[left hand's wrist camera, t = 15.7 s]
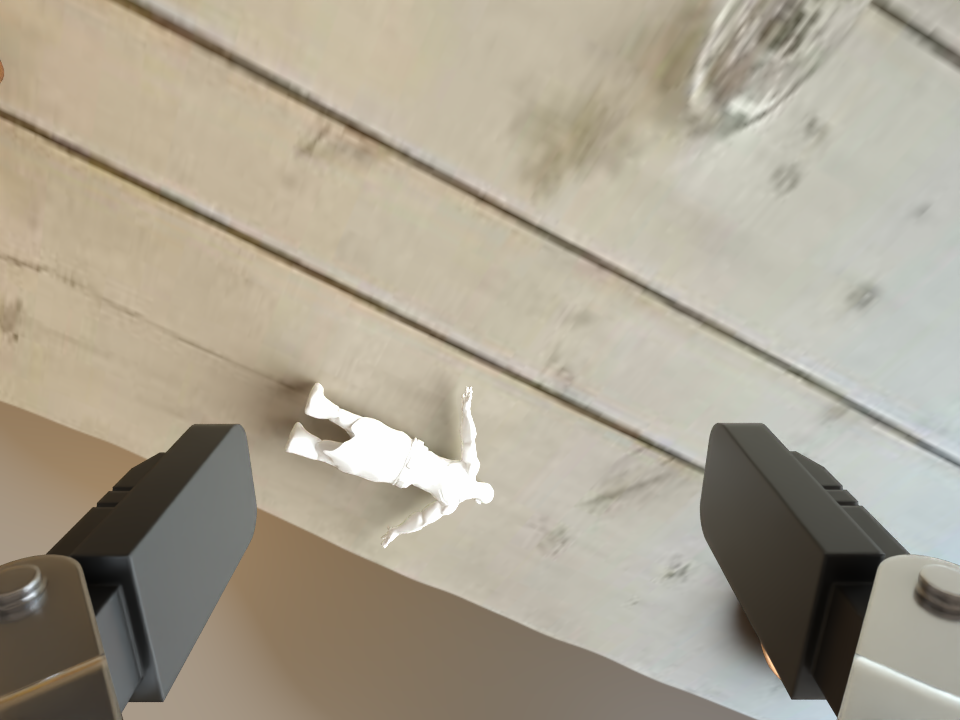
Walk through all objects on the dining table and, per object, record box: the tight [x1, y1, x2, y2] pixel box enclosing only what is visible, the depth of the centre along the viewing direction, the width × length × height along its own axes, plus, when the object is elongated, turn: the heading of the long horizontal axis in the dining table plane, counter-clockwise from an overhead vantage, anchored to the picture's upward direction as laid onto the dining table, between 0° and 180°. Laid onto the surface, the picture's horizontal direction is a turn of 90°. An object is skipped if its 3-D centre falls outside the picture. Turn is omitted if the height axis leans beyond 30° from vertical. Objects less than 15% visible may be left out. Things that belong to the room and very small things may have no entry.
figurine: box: [285, 383, 494, 548], centre depth 54 cm, size 17×5×18 cm
